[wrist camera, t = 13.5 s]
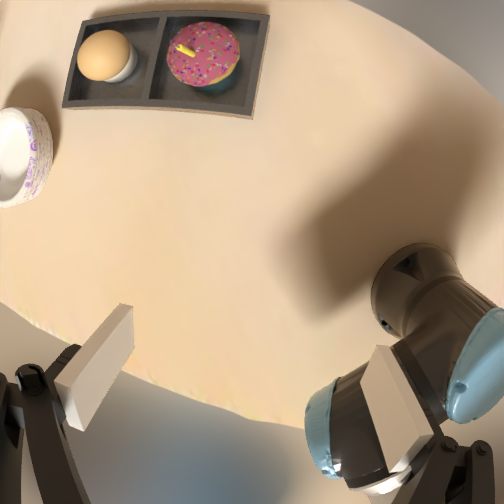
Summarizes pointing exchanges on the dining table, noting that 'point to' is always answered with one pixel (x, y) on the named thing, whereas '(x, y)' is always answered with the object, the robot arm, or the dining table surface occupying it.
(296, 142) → the dining table surface
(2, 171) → the paper bowls
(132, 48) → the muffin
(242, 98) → the divided tray
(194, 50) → the cupcake
